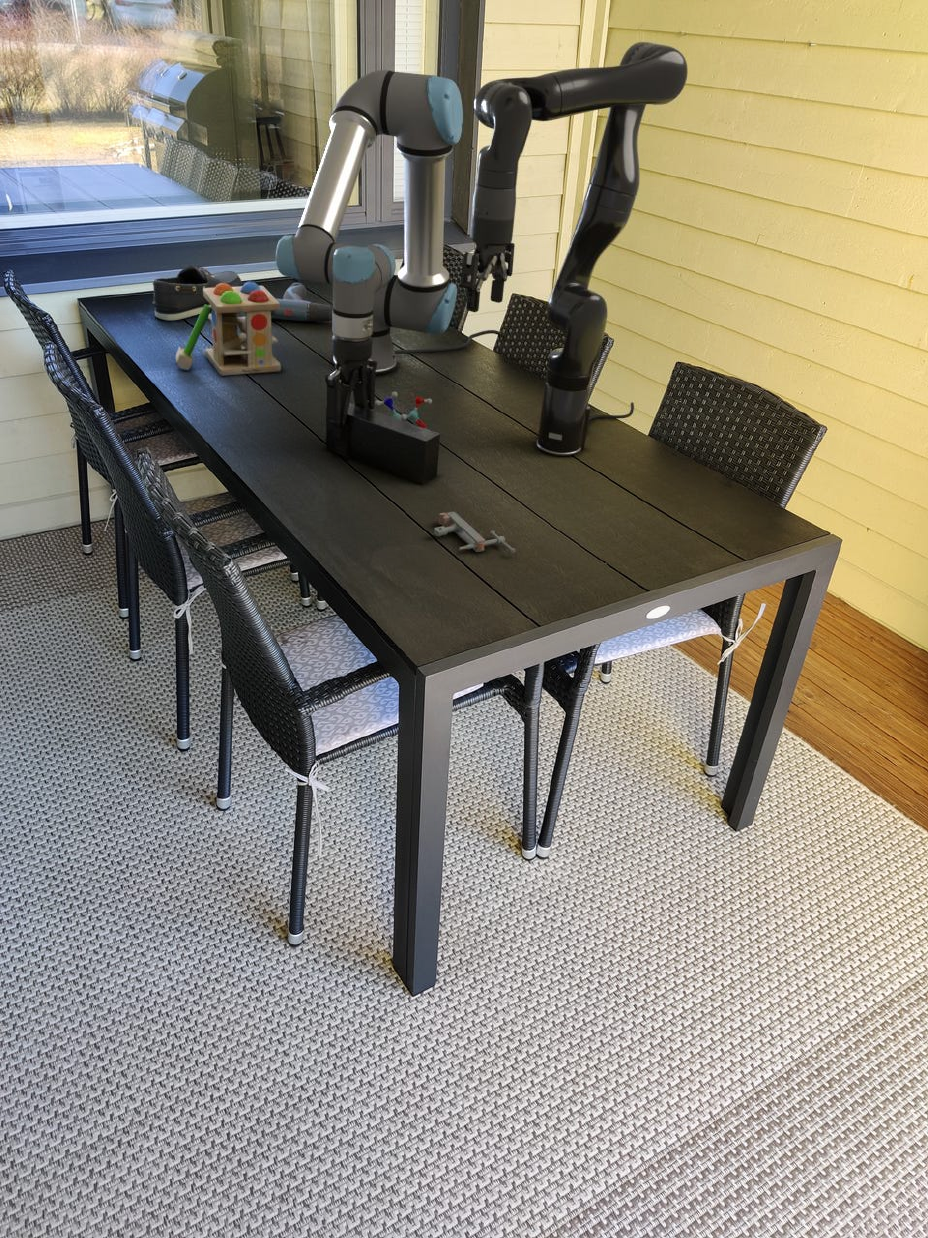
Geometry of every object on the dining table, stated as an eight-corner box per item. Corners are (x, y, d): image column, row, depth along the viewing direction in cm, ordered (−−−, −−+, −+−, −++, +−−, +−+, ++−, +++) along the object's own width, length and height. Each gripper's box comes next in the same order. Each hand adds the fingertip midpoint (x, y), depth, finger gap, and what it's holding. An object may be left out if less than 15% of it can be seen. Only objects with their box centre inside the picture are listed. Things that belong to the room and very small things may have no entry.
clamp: (424, 515, 172) (473, 506, 177) (423, 526, 174) (472, 516, 178) (467, 556, 162) (517, 545, 167) (465, 568, 163) (516, 556, 168)
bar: (325, 449, 197) (325, 406, 192) (340, 441, 201) (341, 399, 195) (423, 485, 188) (426, 441, 182) (437, 476, 191) (440, 433, 186)
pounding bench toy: (183, 379, 220) (176, 299, 210) (169, 357, 231) (162, 280, 221) (282, 371, 230) (280, 294, 220) (264, 350, 240) (262, 276, 230)
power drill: (344, 304, 276) (335, 327, 259) (277, 298, 275) (264, 321, 258) (344, 285, 273) (335, 306, 256) (277, 279, 272) (264, 300, 255)
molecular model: (422, 431, 199) (406, 384, 197) (382, 446, 202) (366, 399, 201) (442, 428, 209) (426, 382, 208) (403, 442, 213) (388, 397, 212)
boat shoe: (260, 299, 274) (258, 261, 269) (172, 322, 251) (168, 281, 245) (227, 291, 280) (224, 253, 275) (137, 313, 256) (132, 272, 251)
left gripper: (338, 351, 176) (337, 469, 189) (396, 329, 189) (391, 441, 202) (306, 341, 179) (306, 458, 192) (365, 319, 192) (362, 430, 205)
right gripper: (490, 222, 164) (481, 319, 173) (531, 211, 174) (521, 302, 183) (453, 214, 167) (446, 309, 176) (495, 203, 177) (487, 293, 186)
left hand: (350, 449), depth 197 cm, fingers closed on bar, 5 cm apart
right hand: (484, 306), depth 179 cm, fingers open, 8 cm apart
